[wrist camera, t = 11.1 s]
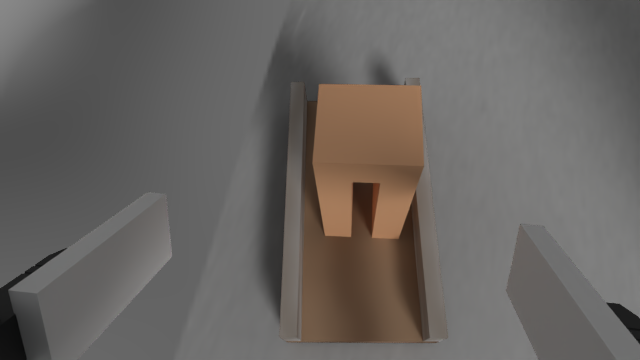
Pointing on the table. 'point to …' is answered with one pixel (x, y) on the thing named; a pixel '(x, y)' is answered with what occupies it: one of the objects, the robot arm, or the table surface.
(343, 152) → the clip
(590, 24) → the table surface
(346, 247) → the rail
